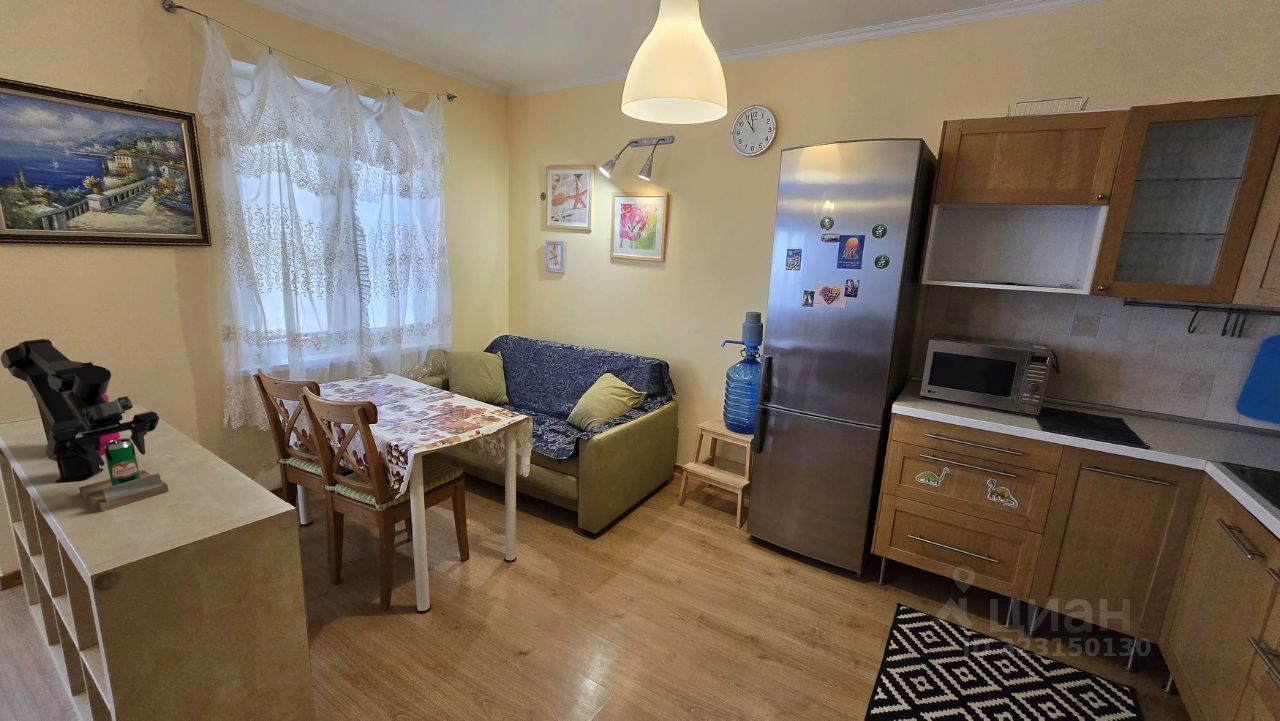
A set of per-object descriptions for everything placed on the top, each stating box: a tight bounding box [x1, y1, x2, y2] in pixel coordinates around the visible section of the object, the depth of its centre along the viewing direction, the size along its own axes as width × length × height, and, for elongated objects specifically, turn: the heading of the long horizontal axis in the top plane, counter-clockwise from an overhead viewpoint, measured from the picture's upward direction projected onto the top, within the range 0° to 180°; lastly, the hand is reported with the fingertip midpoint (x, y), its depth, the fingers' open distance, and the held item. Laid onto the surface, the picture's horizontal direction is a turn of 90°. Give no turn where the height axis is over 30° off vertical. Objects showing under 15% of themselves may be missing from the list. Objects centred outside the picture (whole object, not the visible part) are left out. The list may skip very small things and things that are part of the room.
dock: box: [78, 469, 170, 512], centre depth 128 cm, size 16×12×5 cm
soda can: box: [104, 438, 140, 486], centre depth 125 cm, size 5×5×12 cm
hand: (124, 459), depth 124 cm, fingers open, 7 cm apart
